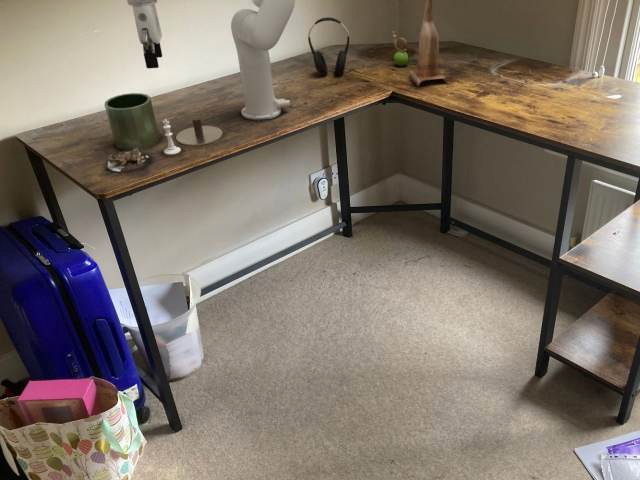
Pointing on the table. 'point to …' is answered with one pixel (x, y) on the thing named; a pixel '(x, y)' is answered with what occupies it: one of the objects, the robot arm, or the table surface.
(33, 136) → the table surface
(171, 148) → the chess piece
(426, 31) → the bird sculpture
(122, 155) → the frog figurine
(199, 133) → the lid
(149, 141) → the pot
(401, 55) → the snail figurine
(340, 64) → the headphones
